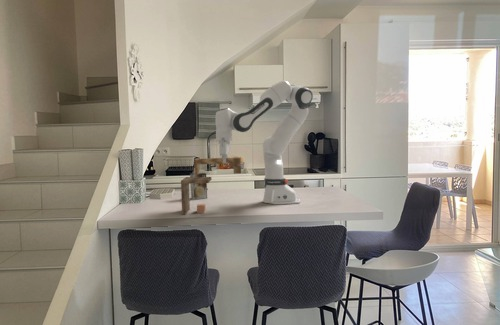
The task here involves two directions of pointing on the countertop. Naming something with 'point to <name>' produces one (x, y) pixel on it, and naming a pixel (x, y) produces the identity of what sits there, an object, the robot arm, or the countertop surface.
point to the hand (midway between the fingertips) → (224, 162)
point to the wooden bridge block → (234, 161)
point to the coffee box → (198, 188)
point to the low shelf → (185, 190)
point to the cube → (201, 208)
